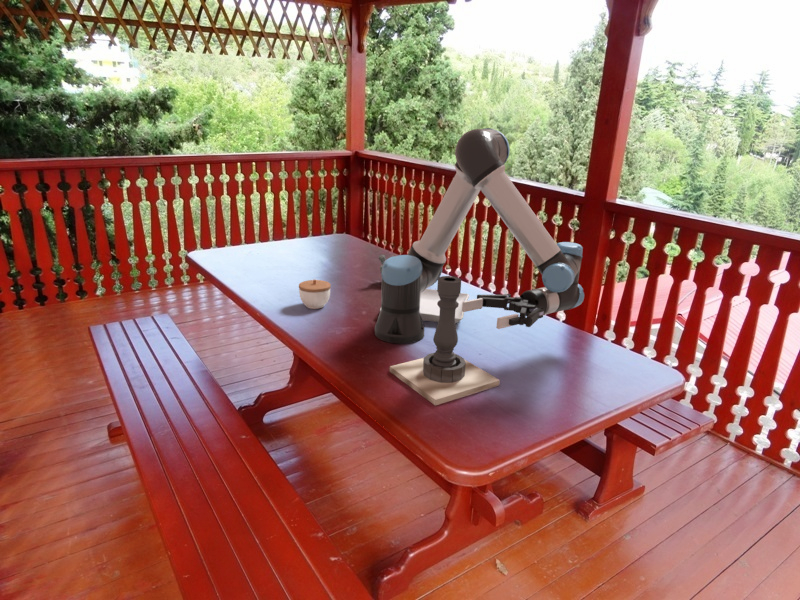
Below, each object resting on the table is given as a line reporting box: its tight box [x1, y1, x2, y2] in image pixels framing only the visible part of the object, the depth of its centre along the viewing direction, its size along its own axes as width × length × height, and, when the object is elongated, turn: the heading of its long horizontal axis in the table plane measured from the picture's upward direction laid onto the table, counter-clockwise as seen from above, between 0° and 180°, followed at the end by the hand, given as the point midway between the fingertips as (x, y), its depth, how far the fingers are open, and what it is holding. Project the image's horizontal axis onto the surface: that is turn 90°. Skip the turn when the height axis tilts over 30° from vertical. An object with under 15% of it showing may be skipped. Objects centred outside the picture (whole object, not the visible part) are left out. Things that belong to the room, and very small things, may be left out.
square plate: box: [379, 288, 470, 324], centre depth 187 cm, size 27×27×4 cm
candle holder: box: [432, 275, 462, 368], centre depth 135 cm, size 6×6×25 cm
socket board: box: [389, 352, 500, 407], centre depth 139 cm, size 20×20×5 cm
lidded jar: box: [298, 279, 332, 310], centre depth 186 cm, size 11×11×9 cm
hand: (479, 314), depth 140 cm, fingers open, 13 cm apart
